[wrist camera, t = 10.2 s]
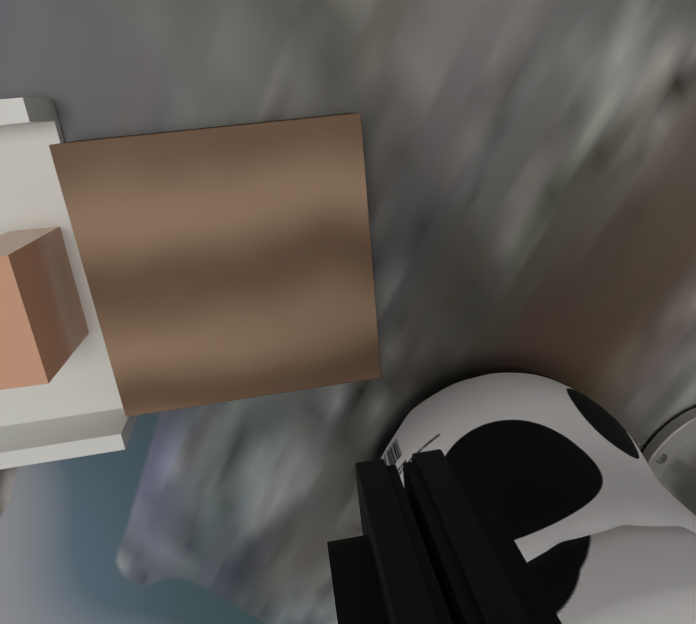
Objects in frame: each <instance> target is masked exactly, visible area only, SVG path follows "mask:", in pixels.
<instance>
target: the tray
mask: <svg viewBox="0 0 696 624" xmlns="http://www.w3.org/2000/svg"><path fill="white" fill-rule="evenodd" d="M58 143H65V142H64V138H63V135H62V131H61V127H60V124H59V120H58V116H57V113H56V109H55V106H54V102H53V99H40V98H24V97H22V98H11V99H0V233H7V232H9V231H18V230H28V229H38V228H48V227H58V226H60V229H61V232H62V236H63V240H64V243H65V247H66V251H67V254H68V258H69V261H70V265H71V269H72V272H73V276H74V280H75V283H76V287H77V290H78V294H79V298H80V301H81V305H82V309H83V312H84V316H85V319H86V323H87V327H88V330H89V334H88V335H87V336H86V337H85V339H84V340H83V341H82V342H81V344H80V345H79V346H78V347H77V349H76V350H75V351H74V352H73V354H72V355H71V356H70V357H69V359H68V360H67V361H66V362H65V364H64V365H63V366H62V367H61V369H60V370H59V371H58V373H57V374H56V375H55V376H54V378H53V379H52V380H51V381H50V383H49V384H42V385H34V386H27V387H19V388H12V389H4V390H0V469H5V468H12V467H18V466H24V465H30V464H37V463H43V462H49V461H56V460H62V459H68V458H74V457H81V456H86V455H93V454H99V453H105V452H112V451H118V450H125V449H126V446H127V444H128V442H129V439H130V436H131V434H132V432H133V429H134V427H135V424H136V422H137V419H138V417H139V415H134V416H127V417H126V416H125V412H124V409H123V405H122V402H121V398H120V395H119V391H118V388H117V384H116V381H115V377H114V374H113V370H112V367H111V363H110V359H109V356H108V352H107V349H106V345H105V342H104V338H103V335H102V331H101V328H100V324H99V321H98V317H97V314H96V310H95V307H94V303H93V300H92V296H91V293H90V289H89V285H88V282H87V278H86V275H85V271H84V268H83V264H82V261H81V257H80V254H79V250H78V247H77V243H76V240H75V236H74V233H73V229H72V226H71V222H70V219H69V215H68V211H67V208H66V204H65V201H64V197H63V194H62V190H61V187H60V183H59V180H58V176H57V173H56V169H55V166H54V162H53V159H52V155H51V152H50V148H49V145H52V144H58Z"/></svg>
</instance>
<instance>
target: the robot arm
mask: <svg viewBox="0 0 696 624" xmlns="http://www.w3.org/2000/svg"><path fill="white" fill-rule="evenodd" d="M642 454H643V456H644V458H645V460H646V462H647V463H648V465H649V467H650V468H651V470H652V472H653V474H654V475H655V477H656V478H657V480H658V481H659V482H660V483H661V484H662V486H663V487H664V488H665V489H666V490H668V491H669V492H670V493H671V494H672V495H673V496H674V497H675V498H676V499H677V500H678V501H679V502H681V503H682V504H683V505H684V506H685V507H686V508H687V509H688V510H690V511H691V512H692V513H693V514H694V515H695V516H696V407H695V408H693V409H691V410H689V411H687V412H685V413H683V414H682V415H680V416H679V417H677V418H675V419H674V420H672V421H671V422H670V423H669V424H667V425H666V426H665V427H664V428H663V429H662V430H661V431H659V432H658V433H657V435H656V436H655V437H654V438H653V439H652V440H651V441H650V443H649V444H648V445H647V447H646V448H645V450H644V451H643V453H642ZM355 468H356V477H357V487H358V496H359V505H360V514H361V523H362V532H363V536H359V537H353V538H347V539H342V540H336V541H331V542H327V544H328V552H329V559H330V567H331V574H332V582H333V589H334V597H335V604H336V612H337V619H338V624H562V623H561V621H560V619H559V618H558V616H557V614H556V612H555V611H554V609H553V607H552V605H551V604H550V602H549V600H548V598H547V597H546V595H545V593H544V591H543V590H542V588H541V586H540V584H539V583H538V581H537V579H536V577H535V576H534V574H533V572H532V570H531V569H530V567H529V565H528V564H527V562H526V560H525V558H524V557H523V555H522V553H521V551H520V550H519V548H518V546H517V544H516V543H515V541H514V539H513V537H512V536H511V534H510V532H509V530H508V529H507V527H506V525H505V523H504V522H503V520H502V519H501V517H500V516H499V515H498V514H497V513H496V512H492V513H487V514H481V515H476V516H475V514H474V512H473V510H472V508H471V506H470V504H469V502H468V500H467V498H466V496H465V494H464V493H463V491H462V489H461V487H460V485H459V483H458V481H457V479H456V477H455V475H454V473H453V471H452V469H451V467H450V465H449V463H448V461H447V459H446V457H445V455H444V453H443V452H442V450H440V449H437V450H431V451H425V452H419V453H413V454H412V462H406V463H403V477H404V486H403V483H402V481H401V478H400V475H399V472H398V470H397V467H396V465H395V464H394V465H388V466H386V464H385V461H384V459H377V460H371V461H365V462H359V463H356V464H355Z"/></svg>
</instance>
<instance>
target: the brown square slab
mask: <svg viewBox="0 0 696 624" xmlns="http://www.w3.org/2000/svg"><path fill="white" fill-rule="evenodd" d="M49 148H50V152H51V155H52V159H53V162H54V166H55V169H56V173H57V176H58V180H59V183H60V187H61V190H62V194H63V197H64V201H65V204H66V208H67V211H68V215H69V219H70V222H71V226H72V229H73V233H74V236H75V240H76V243H77V247H78V250H79V254H80V257H81V261H82V264H83V268H84V271H85V275H86V278H87V282H88V285H89V289H90V293H91V296H92V300H93V303H94V307H95V310H96V314H97V317H98V321H99V324H100V328H101V331H102V335H103V338H104V342H105V345H106V349H107V352H108V356H109V359H110V363H111V367H112V370H113V374H114V377H115V381H116V384H117V388H118V391H119V395H120V398H121V402H122V405H123V409H124V412H125V416H126V417H127V416H134V415H140V414H146V413H153V412H160V411H166V410H173V409H179V408H186V407H192V406H199V405H205V404H212V403H218V402H225V401H232V400H238V399H245V398H251V397H258V396H264V395H271V394H277V393H284V392H290V391H297V390H303V389H310V388H316V387H323V386H329V385H336V384H342V383H349V382H355V381H362V380H368V379H375V378H381V367H380V354H379V342H378V329H377V316H376V304H375V291H374V279H373V266H372V253H371V241H370V228H369V215H368V203H367V190H366V177H365V165H364V152H363V139H362V127H361V114H360V113H346V114H336V115H326V116H316V117H306V118H297V119H287V120H277V121H267V122H257V123H247V124H237V125H228V126H218V127H208V128H198V129H188V130H178V131H168V132H159V133H149V134H139V135H129V136H119V137H109V138H99V139H90V140H80V141H72V142H65V143H58V144H52V145H49Z"/></svg>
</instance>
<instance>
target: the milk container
mask: <svg viewBox="0 0 696 624" xmlns="http://www.w3.org/2000/svg"><path fill="white" fill-rule="evenodd" d="M437 449H440V450H442V452H443V453H444V455H445V457H446V459H447V461H448V463H449V465H450V467H451V469H452V471H453V473H454V475H455V477H456V479H457V481H458V483H459V485H460V487H461V489H462V491H463V493H464V494H465V496H466V498H467V500H468V502H469V504H470V506H471V508H472V510H473V512H474V514H475V516H476V515H481V514H487V513H492V512H496V513H497V514H498V515H499V516H500V517H501V519H502V520H503V522H504V523H505V525H506V527H507V529H508V530H509V532H510V534H511V536H512V537H513V539H514V541H515V543H516V544H517V546H518V548H519V550H520V551H521V553H522V555H523V557H524V558H525V560H526V562H527V564H528V565H529V567H530V569H531V570H532V572H533V574H534V576H535V577H536V579H537V581H538V583H539V584H540V586H541V588H542V590H543V591H544V593H545V595H546V597H547V598H548V600H549V602H550V604H551V605H552V607H553V609H554V611H555V612H556V614H557V616H558V618H559V619H560V621H561V623H562V624H696V516H695V515H694V514H693V513H692V512H691V511H690V510H688V509H687V508H686V507H685V506H684V505H683V504H682V503H681V502H679V501H678V500H677V499H676V498H675V497H674V496H673V495H672V494H671V493H670V492H669V491H668V490H666V489H665V488H664V487H663V486H662V484H661V483H660V482H659V481H658V480H657V478H656V477H655V475H654V474H653V472H652V470H651V468H650V467H649V465H648V463H647V462H646V460H645V458H644V456H643V454H642V453H641V451H640V450H639V448H638V447H637V445H636V444H635V442H634V441H633V439H632V438H631V436H630V435H629V434H628V433H627V431H626V430H625V429H624V428H623V427H622V426H621V425H620V424H619V423H618V421H617V420H616V419H615V418H613V417H612V416H611V415H610V414H609V413H608V412H607V411H605V410H604V409H603V408H602V407H601V406H599V405H598V404H596V403H595V402H594V401H592V400H591V399H589V398H588V397H586V396H584V395H583V394H581V393H579V392H577V391H575V390H574V389H572V388H570V387H568V386H566V385H564V384H561V383H559V382H557V381H554V380H552V379H549V378H546V377H543V376H538V375H533V374H526V373H491V374H485V375H481V376H477V377H473V378H469V379H465V380H462V381H459V382H456V383H453V384H451V385H449V386H447V387H445V388H443V389H441V390H440V391H438V392H436V393H435V394H433V395H431V396H430V397H428V398H426V399H425V400H423V401H422V402H420V403H419V404H418V405H416V406H415V407H414V408H413V409H412V410H411V411H410V412H409V413H408V414H407V415H406V416H405V417H404V418H403V419H402V420H401V421H400V423H399V424H398V425H397V426H396V427H395V428H394V429H393V431H392V432H391V433H390V435H389V436H388V437H387V439H386V441H385V443H384V444H383V446H382V448H381V450H380V452H379V454H378V456H377V459H384V461H385V464H386V466H388V465H394V464H395V465H396V467H397V470H398V472H399V475H400V478H401V481H402V483H403V486H404V477H403V463H406V462H412V454H413V453H419V452H425V451H431V450H437ZM377 459H376V460H377Z"/></svg>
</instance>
